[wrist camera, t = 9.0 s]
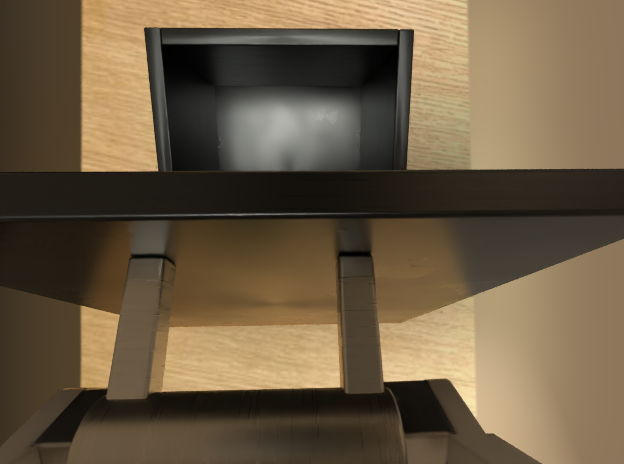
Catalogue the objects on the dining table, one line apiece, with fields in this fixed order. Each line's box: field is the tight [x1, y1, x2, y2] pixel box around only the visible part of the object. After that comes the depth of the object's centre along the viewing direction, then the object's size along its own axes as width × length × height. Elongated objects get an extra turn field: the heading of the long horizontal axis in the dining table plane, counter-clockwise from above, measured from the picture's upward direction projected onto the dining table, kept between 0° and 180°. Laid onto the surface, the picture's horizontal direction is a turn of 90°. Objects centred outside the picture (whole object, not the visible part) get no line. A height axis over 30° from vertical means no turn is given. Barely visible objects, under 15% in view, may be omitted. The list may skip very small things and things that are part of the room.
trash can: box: [144, 28, 414, 171], centre depth 25 cm, size 16×14×12 cm
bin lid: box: [0, 169, 624, 464], centre depth 12 cm, size 16×14×5 cm
